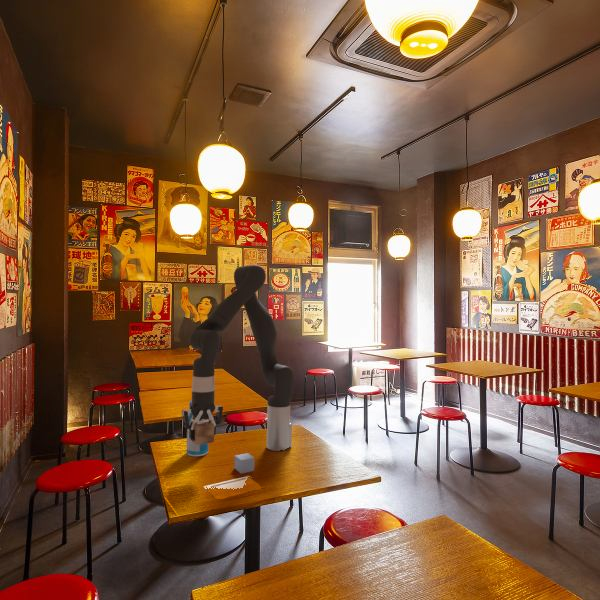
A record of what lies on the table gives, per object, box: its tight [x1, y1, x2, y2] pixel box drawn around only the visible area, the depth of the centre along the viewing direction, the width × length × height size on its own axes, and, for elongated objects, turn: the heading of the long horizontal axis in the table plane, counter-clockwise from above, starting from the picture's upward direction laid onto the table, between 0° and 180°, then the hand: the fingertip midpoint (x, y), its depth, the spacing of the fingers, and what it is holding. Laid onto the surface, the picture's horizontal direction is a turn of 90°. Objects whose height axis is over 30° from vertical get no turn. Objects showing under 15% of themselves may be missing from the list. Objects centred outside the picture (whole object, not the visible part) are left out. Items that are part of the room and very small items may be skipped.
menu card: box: [203, 475, 251, 490], centre depth 134 cm, size 16×11×1 cm
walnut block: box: [190, 420, 215, 445], centre depth 143 cm, size 6×6×6 cm
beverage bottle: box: [186, 400, 209, 457], centre depth 163 cm, size 8×8×20 cm
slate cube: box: [234, 452, 255, 474], centre depth 148 cm, size 5×5×5 cm
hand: (202, 438), depth 143 cm, fingers closed on walnut block, 6 cm apart
